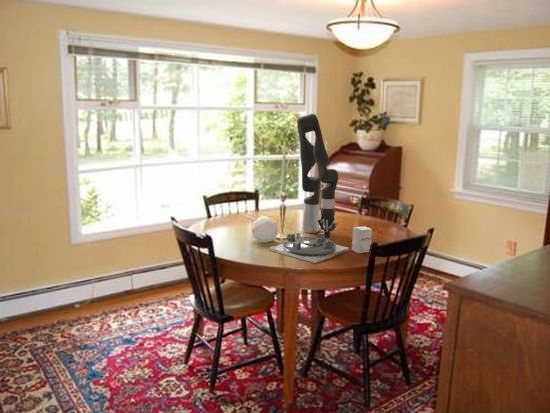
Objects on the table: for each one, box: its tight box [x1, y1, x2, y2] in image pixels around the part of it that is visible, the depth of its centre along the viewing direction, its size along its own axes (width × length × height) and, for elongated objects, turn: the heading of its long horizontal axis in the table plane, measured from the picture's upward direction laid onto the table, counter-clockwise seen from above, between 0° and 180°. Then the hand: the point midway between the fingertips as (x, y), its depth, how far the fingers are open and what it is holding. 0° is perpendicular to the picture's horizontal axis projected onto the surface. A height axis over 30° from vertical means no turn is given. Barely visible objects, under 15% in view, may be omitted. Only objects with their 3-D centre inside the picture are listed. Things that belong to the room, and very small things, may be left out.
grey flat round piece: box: [282, 232, 337, 255], centre depth 265 cm, size 28×28×5 cm
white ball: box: [251, 215, 279, 244], centre depth 279 cm, size 14×15×15 cm
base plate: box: [268, 232, 350, 264], centre depth 265 cm, size 30×30×6 cm
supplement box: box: [351, 225, 373, 254], centre depth 266 cm, size 7×7×13 cm
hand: (327, 238), depth 272 cm, fingers closed
